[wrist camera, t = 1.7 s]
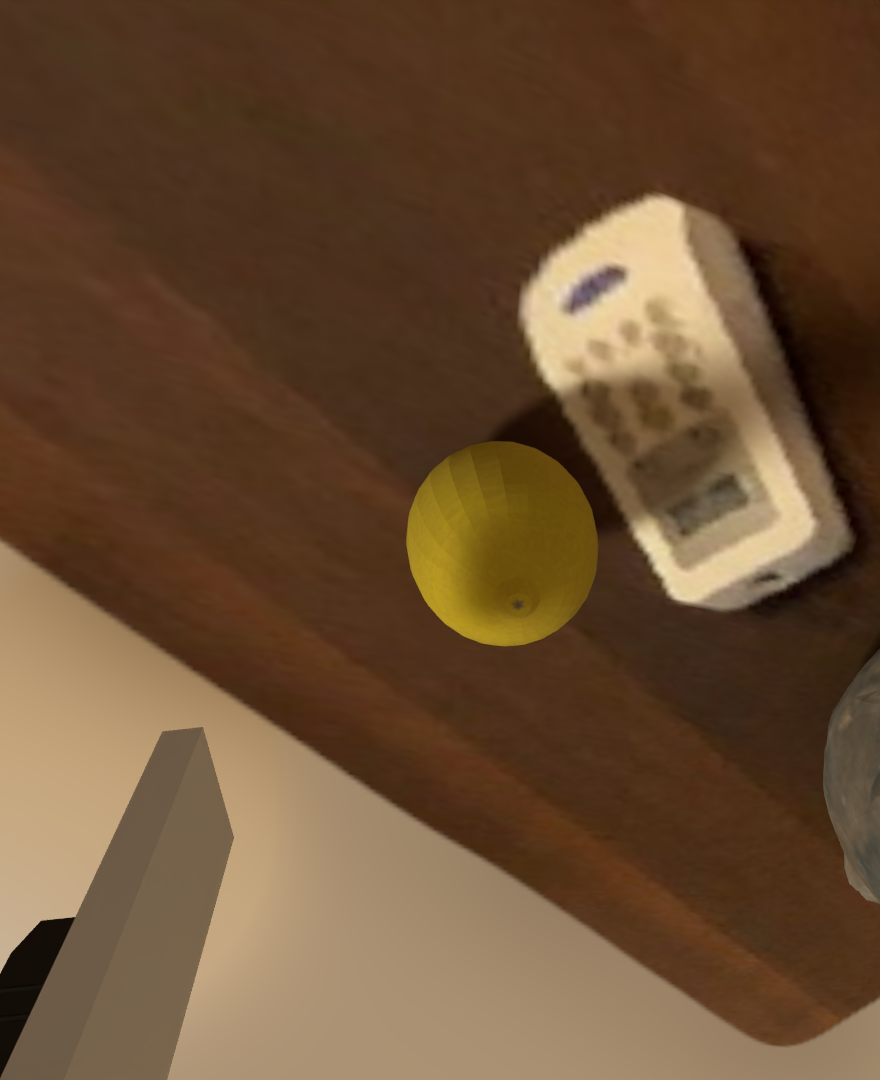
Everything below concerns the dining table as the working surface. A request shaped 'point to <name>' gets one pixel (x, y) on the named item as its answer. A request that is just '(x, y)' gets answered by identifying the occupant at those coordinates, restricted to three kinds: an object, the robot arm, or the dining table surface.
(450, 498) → the lemon
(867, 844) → the bowl
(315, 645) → the dining table surface
